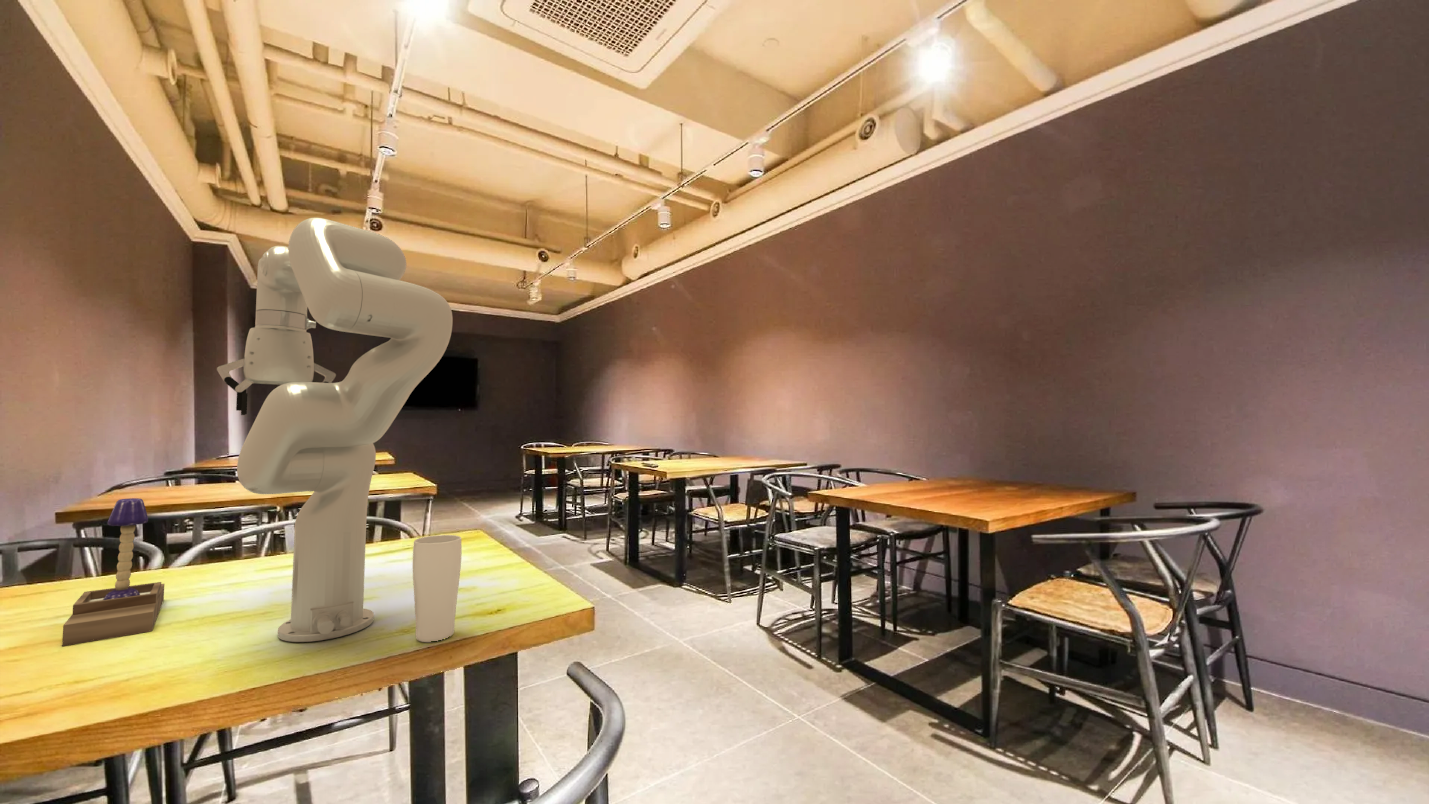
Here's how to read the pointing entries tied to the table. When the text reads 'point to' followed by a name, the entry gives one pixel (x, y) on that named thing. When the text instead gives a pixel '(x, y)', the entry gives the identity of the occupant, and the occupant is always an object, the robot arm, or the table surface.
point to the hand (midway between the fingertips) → (277, 415)
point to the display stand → (113, 614)
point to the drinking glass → (436, 585)
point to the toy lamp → (126, 542)
